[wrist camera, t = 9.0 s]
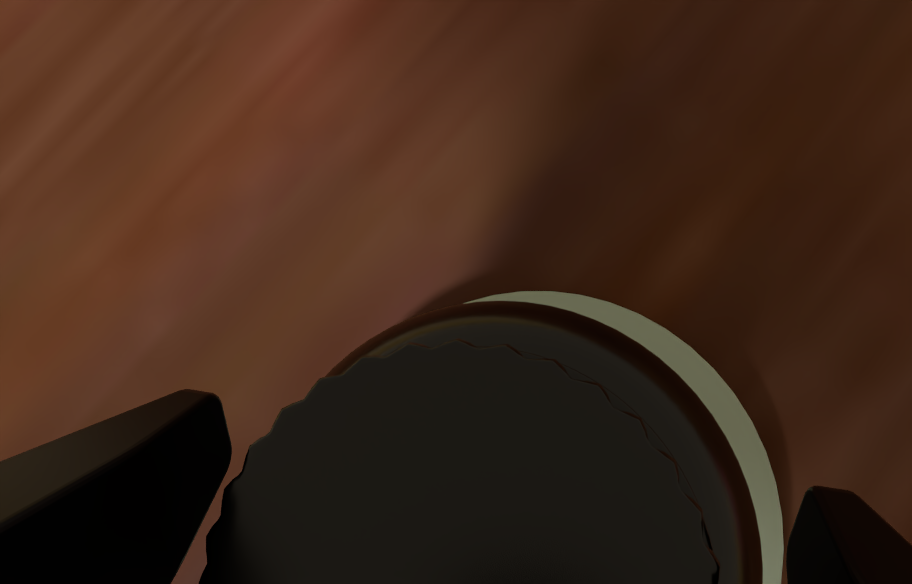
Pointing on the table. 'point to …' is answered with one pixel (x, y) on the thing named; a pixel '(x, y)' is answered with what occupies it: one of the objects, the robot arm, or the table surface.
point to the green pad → (710, 393)
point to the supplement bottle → (491, 465)
